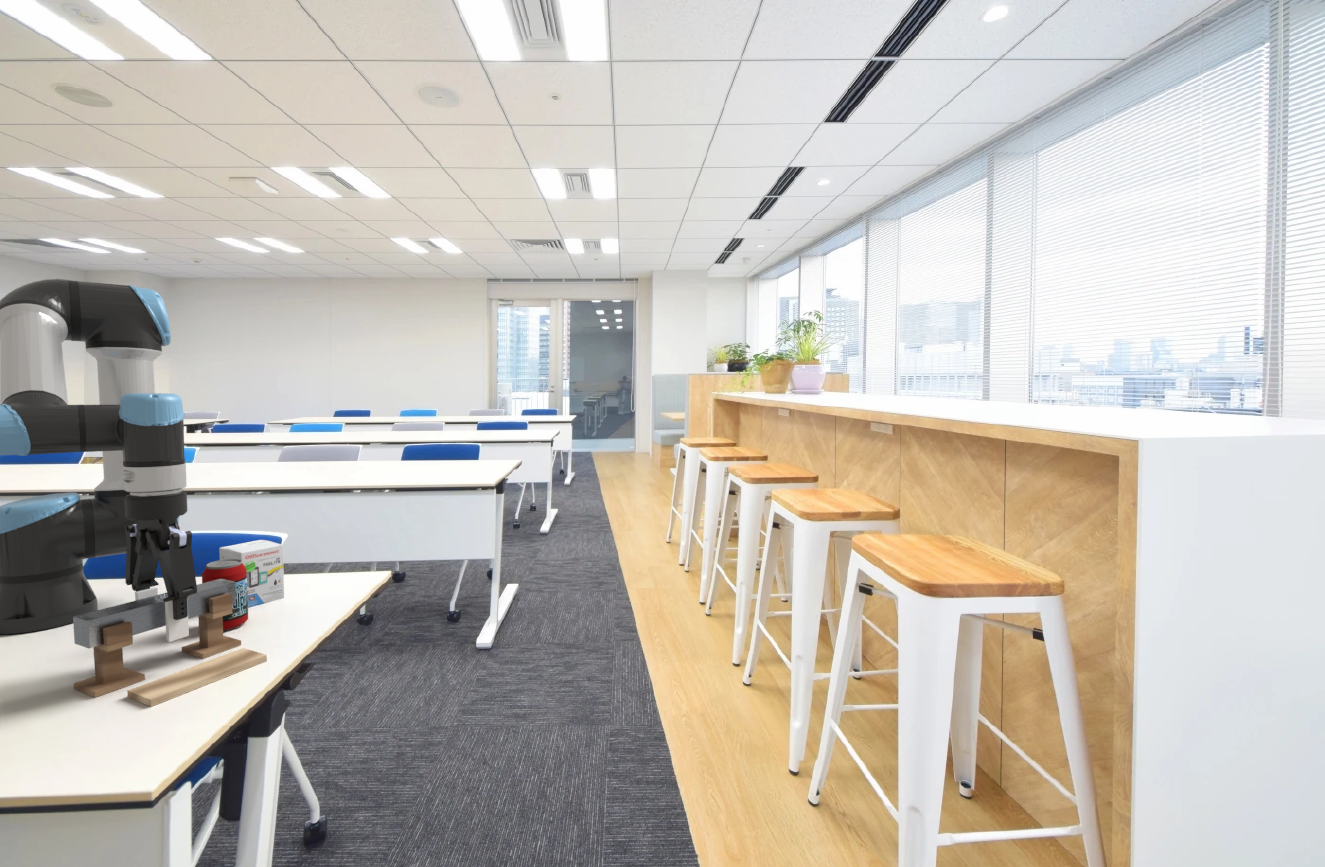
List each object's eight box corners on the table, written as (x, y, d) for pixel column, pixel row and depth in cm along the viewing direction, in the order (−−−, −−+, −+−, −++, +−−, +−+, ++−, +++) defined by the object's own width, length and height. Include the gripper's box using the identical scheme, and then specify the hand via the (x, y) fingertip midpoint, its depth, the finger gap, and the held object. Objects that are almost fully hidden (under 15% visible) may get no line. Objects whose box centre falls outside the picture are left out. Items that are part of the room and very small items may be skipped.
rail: (74, 643, 88) (73, 616, 88) (221, 600, 106) (221, 578, 106) (88, 648, 87) (87, 621, 86) (236, 604, 105) (235, 581, 105)
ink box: (241, 610, 121) (239, 552, 121) (219, 602, 126) (217, 546, 125) (285, 597, 129) (284, 543, 128) (263, 590, 133) (261, 538, 132)
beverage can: (225, 634, 109) (222, 569, 108) (194, 631, 110) (191, 566, 110) (257, 621, 116) (255, 559, 115) (227, 618, 117) (225, 556, 116)
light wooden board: (127, 697, 87) (127, 690, 87) (243, 653, 101) (243, 647, 101) (151, 706, 84) (150, 699, 84) (266, 660, 99) (266, 654, 99)
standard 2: (179, 651, 102) (177, 596, 101) (218, 638, 108) (216, 585, 107) (204, 659, 99) (202, 602, 99) (243, 645, 105) (241, 591, 104)
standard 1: (71, 687, 89) (68, 625, 89) (121, 671, 95) (118, 611, 94) (97, 698, 87) (93, 633, 86) (146, 680, 92) (143, 619, 91)
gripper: (91, 490, 96) (99, 630, 97) (165, 501, 87) (173, 655, 89) (147, 483, 103) (154, 615, 104) (221, 493, 94) (227, 636, 96)
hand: (162, 633), depth 97 cm, fingers open, 8 cm apart
